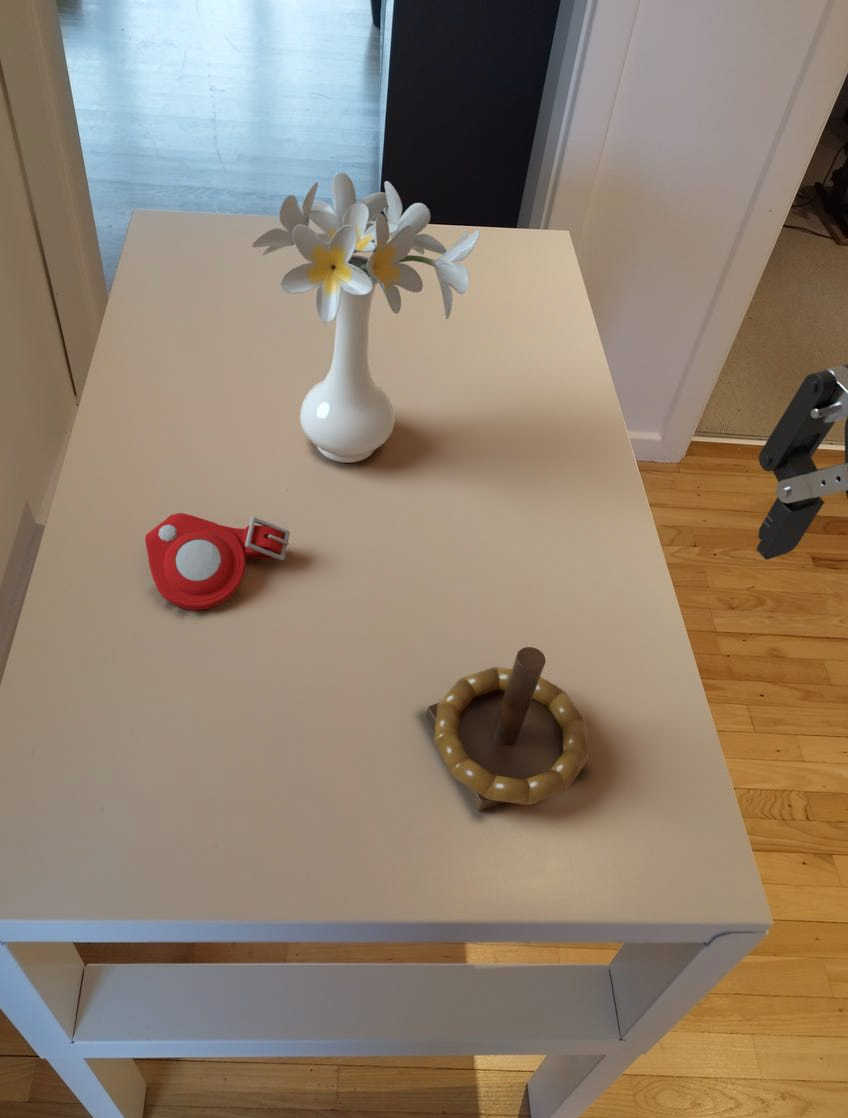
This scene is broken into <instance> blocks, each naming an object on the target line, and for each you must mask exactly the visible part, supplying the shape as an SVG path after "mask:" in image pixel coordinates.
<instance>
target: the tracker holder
mask: <svg viewBox="0 0 848 1118" xmlns="http://www.w3.org/2000/svg"><path fill="white" fill-rule="evenodd" d="M290 533H291V532H290V530H288V529H285V528H282V527H280V526H277V525H275V524H273V523H271V522H270V523H269V521H268V522H267V521H265V520H262V519H260V518H257V517H255V516H252V517H251V518H250V522H249V525H247V526H246V527H245V528H240V527H239V528H238V527H231V526H227V525H222V524H218V523H216V522H214V521H212V520H211V521H210V520H208V519H205V518H201V517H198V516H196V515H195V516H194V515H192V514H188V513H183V512H178V513H173V514H170V515H169V516H167V518H166V519H164V520H163V521H161V522H159V524H158V525H156V526H155V527H154V528H152V529H151V530H149V532H147V533H146V534H145V536H144V542H145V547H146V552H147V553H146V554H147V558H148V559H147V560H148V566H149V569H150V573H151V575H152V580H153V582H154V585H155V587H156V589H157V590H158V591H157V592H159V594H160V596H161V597H162V598H163V599H165V600H166V601H167V602H169V603H170V604H172V605H173V606H176V607H178V608H182V609H185V610H190V611H191V610H192V611H199V610H200V611H201V610H206V609H211V608H215V607H216V606H219V605H221V604H223V603H224V602H225V601H227V600H228V599H230V598H231V597H232V596H233V595H234V593H235V592H237V589H238V588H239V586H240V585H241V583H242V580H243V578H244V574H245V571H246V559H260V560H261V559H264V560H265V559H268V560H269V559H272V560H273V559H276V560H279V561H284V560H285V558H286V557H285V556H286V552H287V547H288V545H290V542H289V538H290Z"/></svg>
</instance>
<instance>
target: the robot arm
mask: <svg viewBox="0 0 848 1118" xmlns="http://www.w3.org/2000/svg"><path fill="white" fill-rule="evenodd" d="M843 419H845V423H844V462H840V463H837V464H836V463H835V464H832V465H830V466H825V467H821V468H817V466H816V464H815V462H814V460H813V456H814V454H815V453H816V451H817V450H818V448H819V447H820V445H821V444H822V442H823V441H824V439H826V437H827V435H828V434H829V432H830V430H831V429H832V428H833V426H834V425H835V423H836V422H837V421H840V420H843ZM758 462H759V466H760V467H761V469H762V470H764V471H766V472H772V473H773V474H774V476H775V478H776V480H777V484H776V488H775V494H776V496H777V497H776V499H775V501H774V502H773V504H772V506H771V508H770V509H769V510H768V513H767V515H766V516H765V518H764V520H763V521H762V523H761V525H760V526H759V529H758V535H757V536H758V539H759V540H760V541H759V543H758V545H757V547H756V551H757V552H758V553H759V555H760V556H761V557H762V558H763V559H764V560H766V561H768V560H771V559H774V558H778V557H780V556H783V555H786V554H789V553H790V552H792V551H793V550H794V549H796V548H797V546H798V545H799V543H800V542H801V540H802V538H803V537H804V535H805V533H806V532H807V531H808V529H809V528H810V527H811V524H812V523H813V521H814V520H815V518H816V516H817V515H818V513H819V512H820V510H821V509H822V507H823V506H824V504H825V500H823V499H822V497H823V496H828V495H832V494H833V495H834V494H837V493H841V492H845V495H846V498H847V499H848V363H845V364H842V365H837V366H833V367H829V368H826V369H822V370H819V371H816V372H812V373H809V374H807V376H806V377H805V378H804V379H803V381H802V383H801V384H800V386H799V388H798V389H797V391H796V393H795V394H794V396H793V398H792V399H791V401H790V402H789V404H788V406H787V407H786V409H785V411H784V413H783V414H782V416H781V417H780V419H779V421H778V422H777V424H776V426H775V427H774V429H773V430H772V432H771V434H770V436H769V437H768V439H767V440H766V441H765V444H764V445H763V447H762V448H761V450H760V452H759V454H758Z"/></svg>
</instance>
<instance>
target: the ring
mask: <svg viewBox="0 0 848 1118" xmlns="http://www.w3.org/2000/svg"><path fill="white" fill-rule="evenodd" d="M511 671H512V668H508V667H507V668H505V667H498V666H494V667H489V668H487V669H485V670H482V671H478V672H474V673H472V674H470V675H469V674H468V675H466V676H463V677H461V678H459V679H458V680H457V681H456V683H454V685H453V686H452V687H451V688H450V690H449V691H448V692H447V693H446V694H445V695H444V696H443V698H442V699H441V700H440V701H439V702H438V703H439V704H438V706H437V713H436V725H435V732H434V737H433V740H434V745H435V746H436V748H437V750H438V752H439V754H440V756H441V757H442V759H443V761H444V764H445V765H446V767H447V768H448V770H449V773H450V775H452V777H453V778H455V779H456V780H457V781H459V782H460V783H462V784H463V783H464V784H465V785H467V786H468V787H470V788H471V789H473V790H474V791H476V792H477V793H479V794H480V795H482V796H483V797H485V798H486V799H489V800H495V801H503V802H502V803H511V804H519V805H526V806H529V805H533V804H536V803H539V802H541V801H544V800H547V799H549V798H552V797H554V796H557V795H559V794H562V793H564V792H566V791H567V790H568V789H569V788H570V786H571V785H572V784H573V782H574V781H575V779H576V778H577V776H578V775H579V773H580V772H581V770H583V768H584V766H585V765H586V763H587V762H588V756H589V755H588V754H589V753H588V752H589V751H588V727H587V722H586V720H585V718H584V717H583V716H582V714H581V713H580V711H579V709H578V708H577V707H576V705H575V703H574V702H573V700H572V699H571V697H570V695H568V693H567V692H566V691H565V690H563V689H562V688H560V687H559V686H557V685H556V684H554V683H552V682H550V681H549V680H547V679H545V677H542V676H540V679H539V681H538V684H537V687H536V689H535V692H534V695H533V699H535V700H536V701H538V702H539V703H541V704H543V705H544V706H546V707H548V708H549V709H550V711H551V712H552V714H553V715H554V717H555V719H556V720H557V722H558V723H559V725H560V726H561V728H562V730H563V753H562V755H561V756H560V757H559V759H558V760H557V762H556V763H555V764H554V766H553V767H552V769H551V770H550V771H547V772H544V773H542V774H539V775H536V776H534V777H531V778H528V779H518V778H511V777H503V776H496V775H494V774H493V773H491V772H490V771H488V770H487V769H485V768H484V767H482V766H481V765H479V764H478V763H476V762H475V761H473V760H472V759H471V758H470V756H469V755H468V753H467V751H466V749H465V747H464V746H463V744H462V742H461V740H460V739H459V737H458V735H459V720H460V714H461V713H462V712H463V710H464V709H465V708H466V707H467V705H468V704H469V703H470V702H471V701H472V699H473V698H475V697H478V696H481V695H484V694H487V693H490V692H493V691H496V690H501V691H505V690H506V687H507V684H508V681H509V678H510V674H511Z"/></svg>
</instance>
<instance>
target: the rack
mask: <svg viewBox="0 0 848 1118" xmlns="http://www.w3.org/2000/svg"><path fill="white" fill-rule="evenodd" d="M545 665H546V657H545V654H544V653H543V652H542V651H541V650H540V649H538V648H536V647H533V646H525V647H522V648H520V649H519V650H518V651H517V653H516V656H515V659H514V662H513V666H512V668H511V669H512V671H511V674H510V678H509V681H508V684H507V687H506V690H505V691H501V690H496V691H493V692H490V693H487V694H484V695H481V696H478V697H475V698H473V699H472V701H471V702H470V703H469V704H468V705H467V707H466V708H465V709H464V710H463V712H462V713H461V714H460V720H459V735H458V737H459V739H460V740H461V742H462V744H463V746H464V747H465V749H466V751H467V753H468V755H469V756H470V758H471V759H472V760H473V761H475V762H476V763H478V764H479V765H481V766H482V767H484V768H485V769H487V770H488V771H490V772H491V773H493V774H494V775H496V776H503V777H511V778H518V779H528V778H531V777H534V776H536V775H539V774H542V773H544V772H547V771H550V770H551V769H552V767H553V766H554V764H555V763H556V762H557V760H558V759H559V757H560V756H561V755H562V753H563V730H562V728H561V726H560V725H559V723H558V722H557V720H556V719H555V717H554V715H553V714H552V712H551V711H550V709H549V708H548V707H546V706H544V705H543V704H541V703H539V702H538V701H536V700H535V699H533V695H534V692H535V689H536V687H537V684H538V681H539V679H540V677H542V676H541V675H542V673H543V670H544V667H545ZM439 703H440V702H438V703H435V704H432V705H429V706H427V709H426V714H425V718H426V719H427V721H428V724H429V725H430V727H431V729H432V731H433V732H434V733H435V725H436V713H437V706H438V704H439ZM462 785H463V787H464V789H465V790H466V792H467V794H468V796H469V798H470V799H471V801H472V803H473V805H474V806H475V809H476V810H477V812H481V811H483V810H485V809H488V808H490V807H493V806H496V805H498V804H501V803H504V802H503V801H495V800H489V799H486V798H485V797H483V796H482V795H480V794H479V793H477V792H476V791H474V790H473V789H471V788H470V787H468V786H467V785H465V784H464V783H462Z"/></svg>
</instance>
